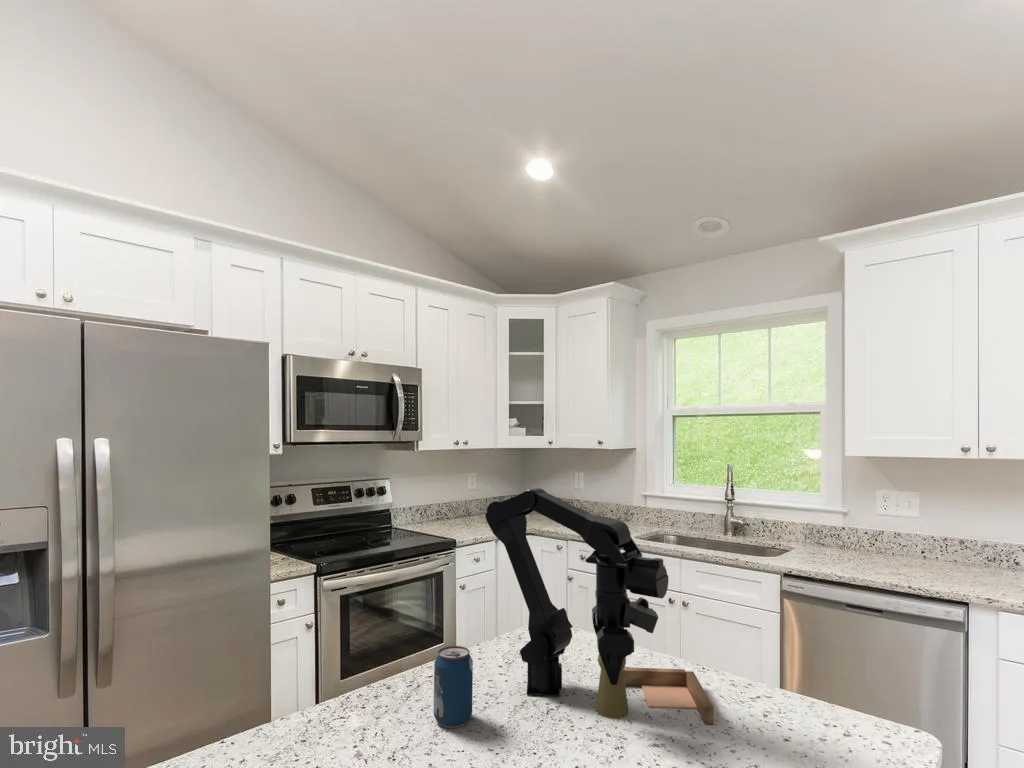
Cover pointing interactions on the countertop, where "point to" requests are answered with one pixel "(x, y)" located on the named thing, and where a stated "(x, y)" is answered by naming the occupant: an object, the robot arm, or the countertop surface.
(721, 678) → the countertop surface
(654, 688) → the corner arena
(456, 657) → the soda can
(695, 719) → the countertop surface
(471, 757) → the countertop surface
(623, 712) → the olive pepper mill
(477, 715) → the countertop surface
